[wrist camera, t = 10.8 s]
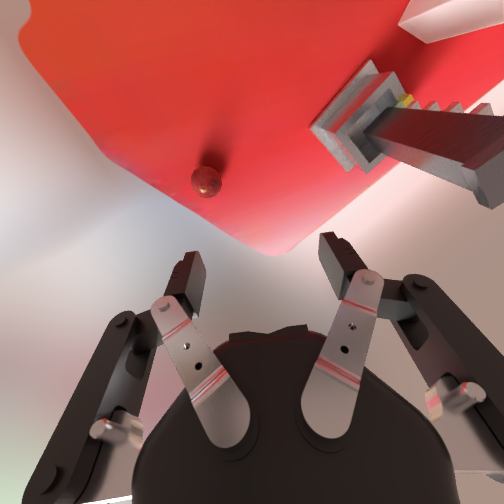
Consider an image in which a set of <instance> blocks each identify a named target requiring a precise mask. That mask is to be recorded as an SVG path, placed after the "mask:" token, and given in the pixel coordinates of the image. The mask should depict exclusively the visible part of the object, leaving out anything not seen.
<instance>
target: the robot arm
mask: <svg viewBox="0 0 504 504" xmlns="http://www.w3.org/2000/svg"><path fill="white" fill-rule="evenodd" d="M318 254H319V260H320V262H321V264H322V266H323V268H324V270H325V272H326V275H327V277H328V279H329V281H330V283H331V286H332V288H333V290H334V292H335V294H336V296H337V298H338V300H342V302H341V304H340V307H339V309H338V311H337V314H336V316H335V319H334V321H333V323H332V326H331V328H330V331H329V333H328V336H325V335H323V334H321V333H318V332H315V331H309V330H308V328H307V325H306V324H305V325H297V326H289V327H285V328H282V329H280V330H277V331H275V332H272V333H270V334H264V333H256V332H249V331H247V332H239V333H231V334H229V340H228V341H225V342H223V343H222V344H220V345H219V346H217V347H216V348H215V349H214V350H213V351H212V350H211V348H210V347H209V346H208V344H207V343H206V341H205V340H204V338H203V337H202V336H201V334H200V333H199V331H198V330H197V328H196V327H195V325H194V324H193V322H192V318H198V317H199V311H200V306H201V300H202V295H203V289H204V284H205V278H206V269H205V266H204V264H203V261H202V259H201V256H200V254H199V252H198V251H193V252H186V253H185V256H184V259H183V261H179V262H178V263H177V264H176V265H175V267H174V269H173V272H172V275H171V277H170V280H169V282H168V285H167V288H166V290H165V293H164V296H163V297H161V298H159V299H158V300H157V301H155V302H154V304H153V305H152V307H151V309H150V310H147V311H145V312H143V313H140V314H137V315H135V314H134V313H133V312H132V311H124V312H121V313H120V314H118V315H116V316H115V317H114V318H113V319H112V320H111V321H110V322H109V324H108V326H107V328H106V330H105V332H104V334H103V336H102V338H101V340H100V342H99V344H98V346H97V348H96V350H95V352H94V354H93V356H92V358H91V360H90V362H89V363H88V365H87V367H86V369H85V371H84V373H83V375H82V378H81V379H80V381H79V383H78V385H77V387H76V389H75V391H74V393H73V395H72V397H71V399H70V401H69V403H68V405H67V407H66V409H65V411H64V413H63V415H62V417H61V419H60V421H59V423H58V425H57V427H56V429H55V431H54V433H53V435H52V437H51V439H50V441H49V443H48V445H47V447H46V449H45V451H44V453H43V455H42V457H41V458H40V460H39V462H38V464H37V466H36V469H35V471H34V472H33V474H32V476H31V478H30V480H29V482H28V485H27V486H26V489H25V491H24V494H23V498H22V504H109V503H111V502H116V501H122V500H128V499H132V504H460V500H459V496H458V492H457V487H456V480H455V474H456V473H457V474H458V473H459V474H460V473H461V474H486V475H487V476H489V477H490V478H492V479H494V480H496V481H498V482H500V483H504V356H503V355H502V354H501V353H500V352H499V351H498V350H497V349H496V348H495V346H494V345H493V344H492V343H491V342H490V341H489V340H488V339H487V338H486V337H485V336H484V335H483V334H482V332H480V330H479V329H478V328H477V327H476V326H475V325H474V324H473V323H472V322H471V321H470V319H469V318H467V316H466V315H465V314H464V313H463V312H462V311H461V310H460V309H459V308H458V307H457V305H456V304H455V303H454V302H453V301H452V300H451V299H450V298H449V297H448V296H447V295H446V293H445V292H444V291H443V290H442V289H441V288H440V287H439V286H438V285H437V284H436V283H435V282H434V281H433V280H431V279H430V278H428V277H426V276H423V275H419V274H409V275H407V276H405V277H404V278H403V280H402V281H399V280H389V279H383V277H382V276H381V275H380V274H379V273H377V272H375V271H372V270H369V269H368V268H367V266H366V265H365V264H364V262H363V261H362V260H361V258H360V257H359V255H358V254H357V253H356V251H355V250H354V249H353V247H352V246H351V244H350V243H349V242H348V241H346V240H345V239H343V238H339V239H338V238H337V236H336V235H335V233H334V232H325V233H320V238H319V250H318ZM376 317H378V318H384V319H390V321H391V323H392V324H393V326H394V328H395V329H396V331H397V333H398V335H399V336H400V338H401V340H402V342H403V343H404V345H405V347H406V348H407V350H408V352H409V354H410V355H411V357H412V359H413V361H414V362H415V364H416V366H417V368H418V369H419V371H420V373H421V374H422V376H423V378H424V380H425V381H426V383H427V385H428V387H429V389H427V391H426V393H425V401H426V404H427V407H428V410H429V413H430V421H429V420H428V419H427V418H426V417H425V416H424V415H423V414H422V413H421V412H420V411H419V410H418V409H417V408H416V407H414V406H413V405H412V404H411V403H409V402H408V401H407V400H406V399H404V398H403V397H402V396H401V395H399V394H398V393H397V392H396V391H394V390H393V389H392V388H391V387H390V386H388V385H387V384H386V383H385V382H383V381H382V380H381V379H380V378H378V377H377V376H376V375H375V374H374V373H372V372H371V371H370V370H369V369H367V368H366V367H365V366H364V364H365V360H366V356H367V353H368V348H369V345H370V340H371V337H372V333H373V329H374V325H375V321H376ZM162 344H164V345H165V347H166V349H167V351H168V353H169V355H170V357H171V359H172V361H173V363H174V365H175V367H176V369H177V371H178V373H179V375H180V377H181V379H182V381H183V383H184V385H185V388H184V389H183V390H182V392H181V393H180V395H179V396H178V397H177V398H176V400H175V401H174V403H173V404H172V405H171V406H170V408H169V409H168V410H167V412H166V413H165V414H164V416H163V417H162V419H161V420H160V421H159V423H158V424H157V425H156V426H155V428H154V429H153V430H152V432H151V433H150V434H149V436H148V437H147V439H146V440H145V442H144V444H143V443H142V440H143V437H142V436H143V424H142V421H141V420H140V419H139V418H138V416H139V412H140V409H141V405H142V401H143V397H144V394H145V390H146V386H147V382H148V379H149V375H150V371H151V368H152V364H153V360H154V356H155V353H156V349H157V347H158V346H160V345H162Z"/></svg>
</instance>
